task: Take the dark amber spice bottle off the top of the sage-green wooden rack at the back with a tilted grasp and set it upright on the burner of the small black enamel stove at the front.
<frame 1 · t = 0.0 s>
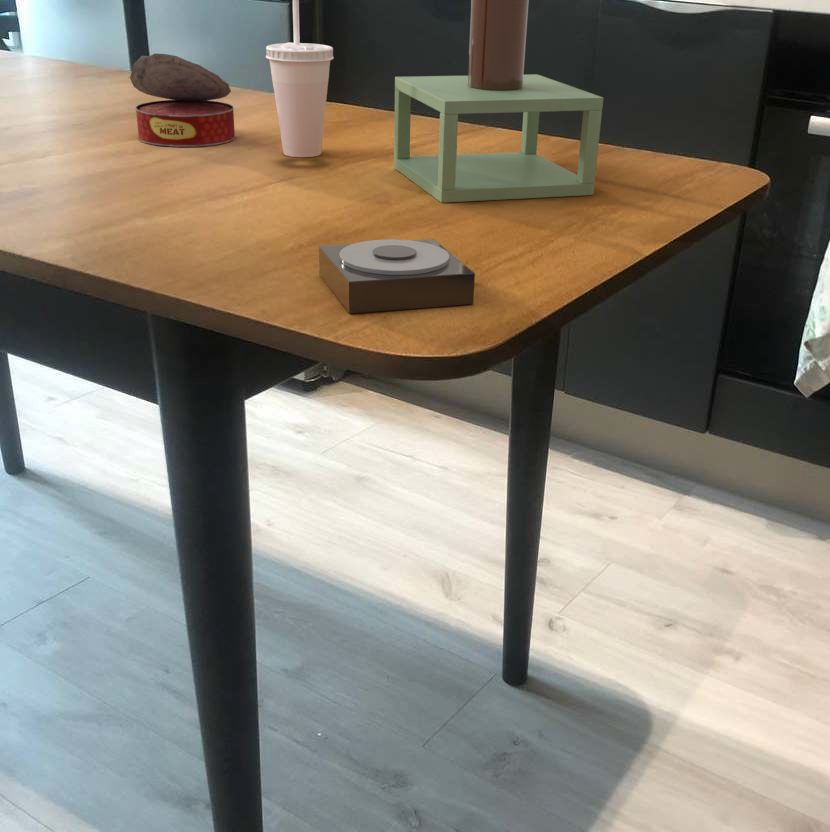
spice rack: (489, 180, 98), on the table
smoothie: (302, 155, 107), on the table
spice bottle: (495, 86, 94), point 8 cm above the table, touching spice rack
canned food: (186, 139, 112), on the table
stove: (393, 289, 70), on the table
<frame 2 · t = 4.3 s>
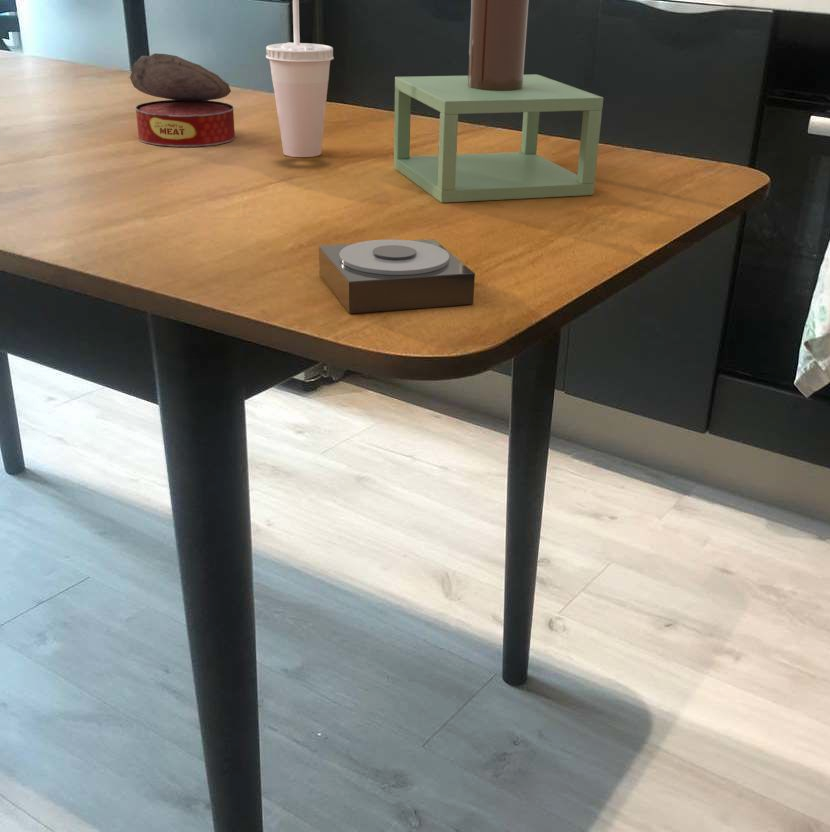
nothing on the table moved.
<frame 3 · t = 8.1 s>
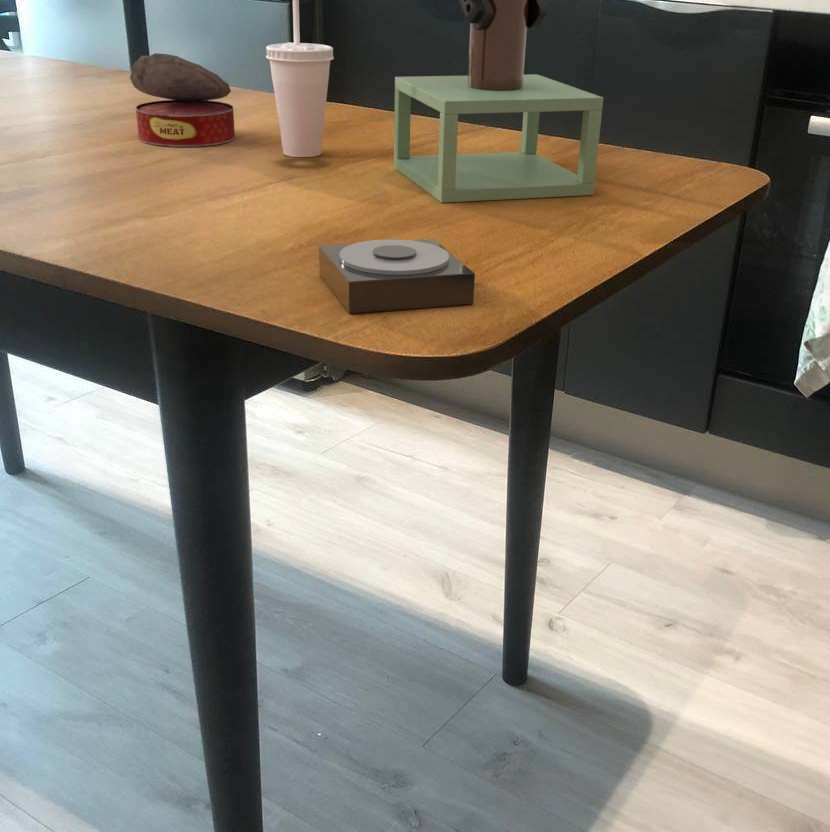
hand: (511, 21, 90), 13 cm above the table, tool tilted 45°, fingers closed on spice bottle, 5 cm apart
spice bottle: (495, 86, 94), point 8 cm above the table, touching gripper, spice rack
everything else where it was.
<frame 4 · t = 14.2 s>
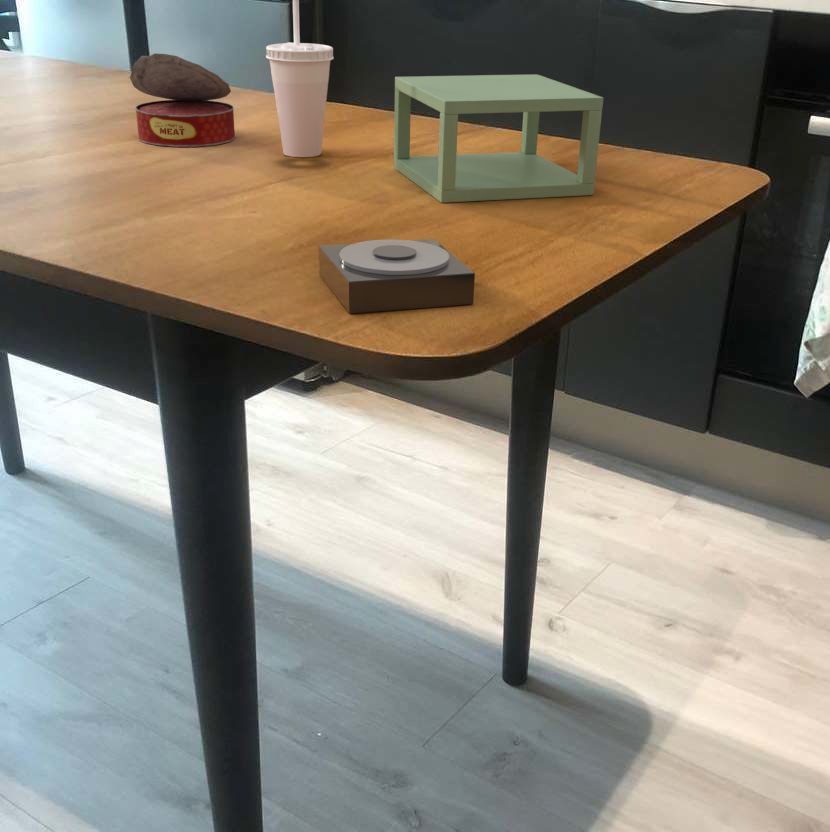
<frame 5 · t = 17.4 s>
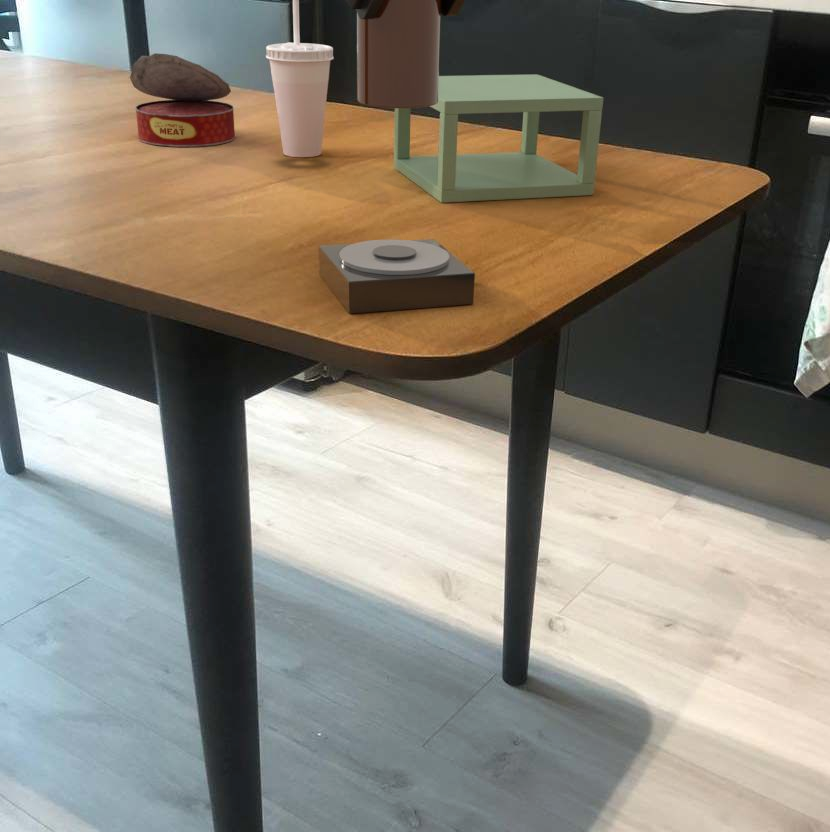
hand: (415, 6, 60), 17 cm above the table, tool tilted 45°, fingers closed on spice bottle, 5 cm apart
spice bottle: (397, 101, 64), point 11 cm above the table, touching gripper
everything else where it was.
when the fingers open (8 cm above the table, at t = 20.2 s): spice bottle stays where it is, resting on stove.
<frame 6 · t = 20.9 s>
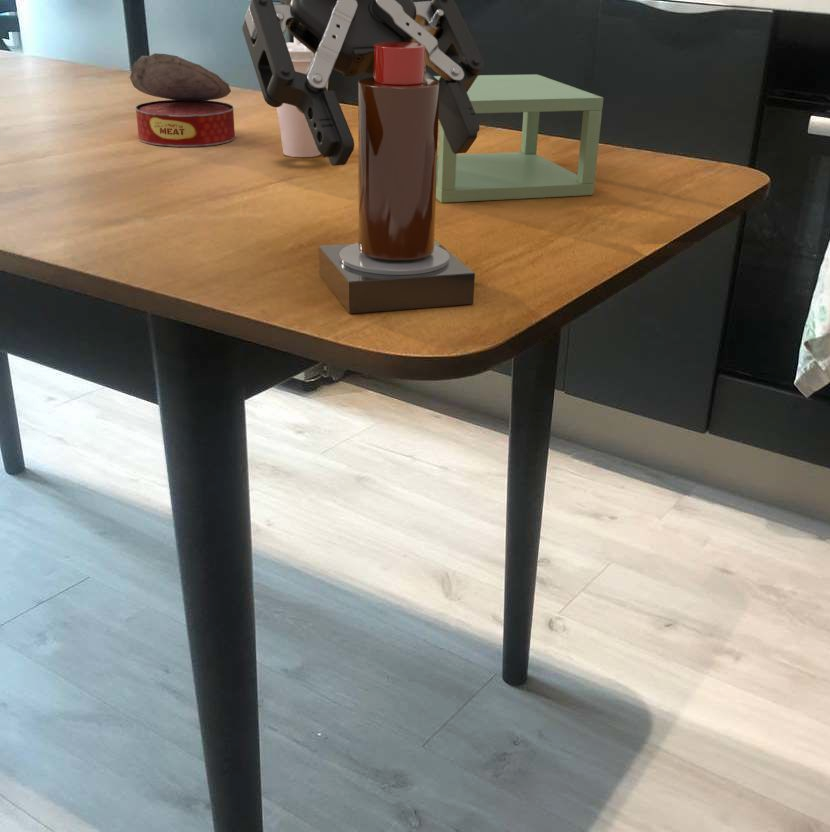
hand: (407, 151, 64), 9 cm above the table, tool tilted 45°, fingers open, 8 cm apart
spice bottle: (396, 250, 69), point 2 cm above the table, touching stove
everything else where it was.
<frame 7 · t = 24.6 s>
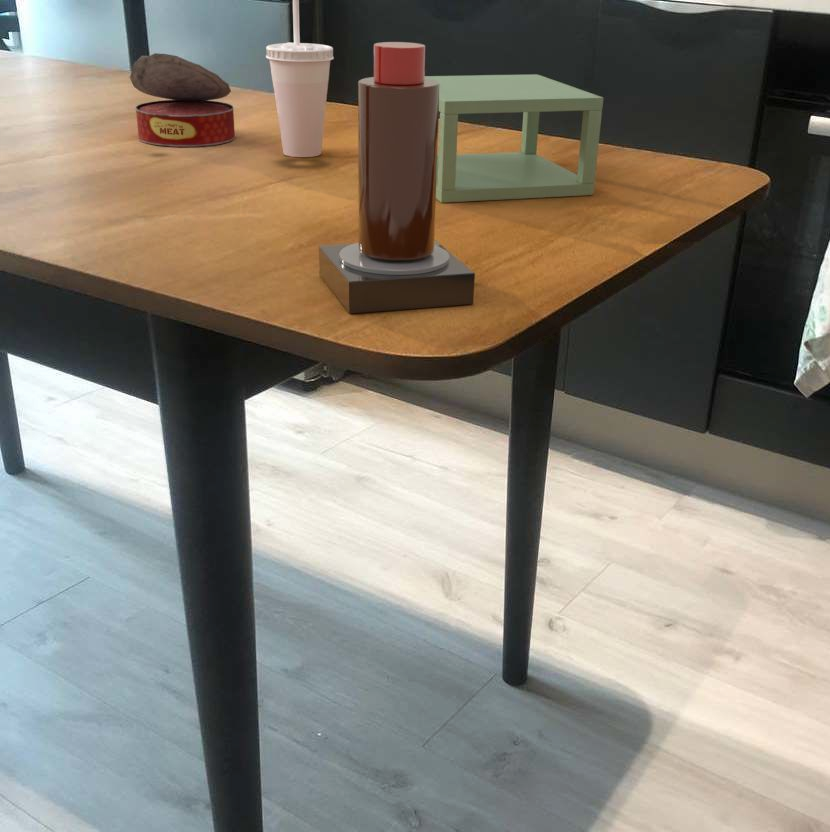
nothing on the table moved.
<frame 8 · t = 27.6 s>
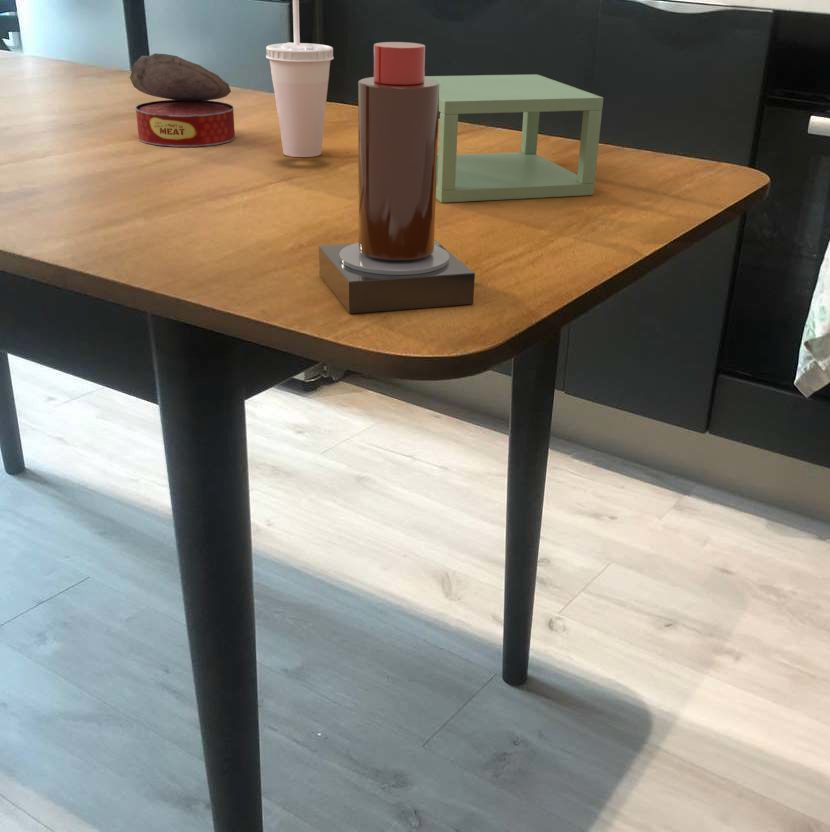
nothing on the table moved.
at the end: spice bottle 0.3 cm off-centre on the stove, point 2.5 cm above the stove's base; spice bottle tilted 0°; the gripper is holding nothing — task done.
